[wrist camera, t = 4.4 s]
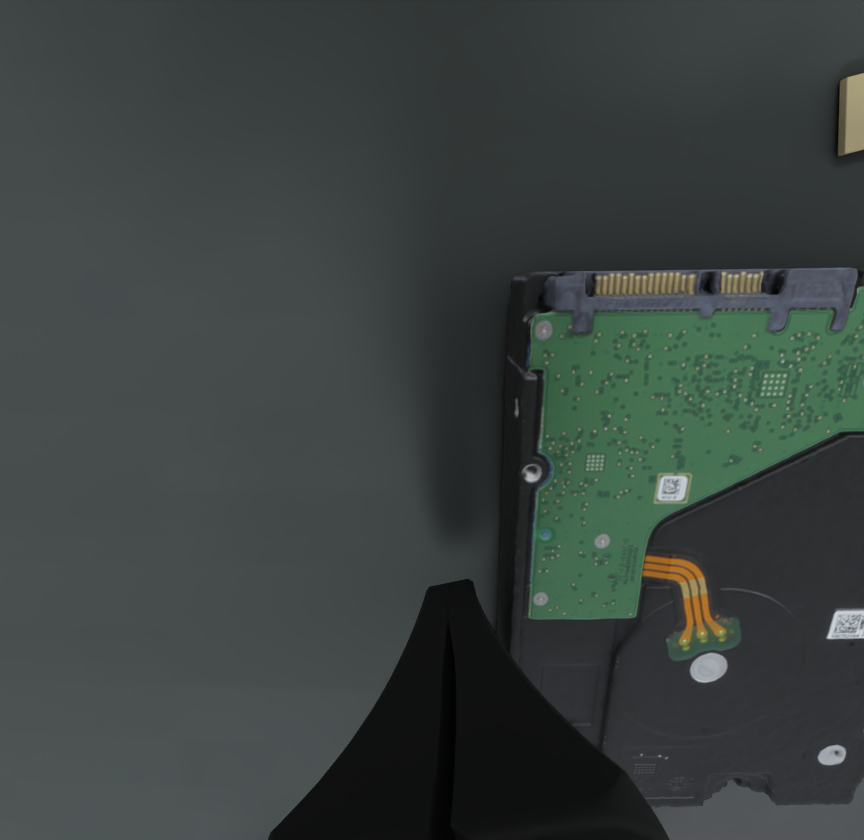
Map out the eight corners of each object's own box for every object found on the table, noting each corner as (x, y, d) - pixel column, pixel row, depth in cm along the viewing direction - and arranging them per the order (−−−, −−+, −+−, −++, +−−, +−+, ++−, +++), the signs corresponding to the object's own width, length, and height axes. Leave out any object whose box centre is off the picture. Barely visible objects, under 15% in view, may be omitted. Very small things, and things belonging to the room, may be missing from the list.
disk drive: (788, 715, 16) (925, 260, 11) (862, 807, 13) (1084, 258, 8) (488, 724, 16) (498, 271, 11) (500, 817, 13) (520, 272, 8)
